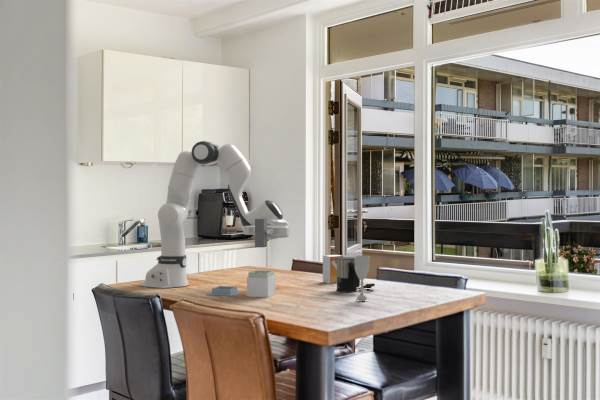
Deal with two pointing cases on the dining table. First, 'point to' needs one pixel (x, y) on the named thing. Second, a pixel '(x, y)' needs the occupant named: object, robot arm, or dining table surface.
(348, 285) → the milk frother
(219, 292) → the floor socket
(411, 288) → the dining table surface
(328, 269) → the small box
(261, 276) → the block
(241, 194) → the robot arm
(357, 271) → the chalice
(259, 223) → the plug block
